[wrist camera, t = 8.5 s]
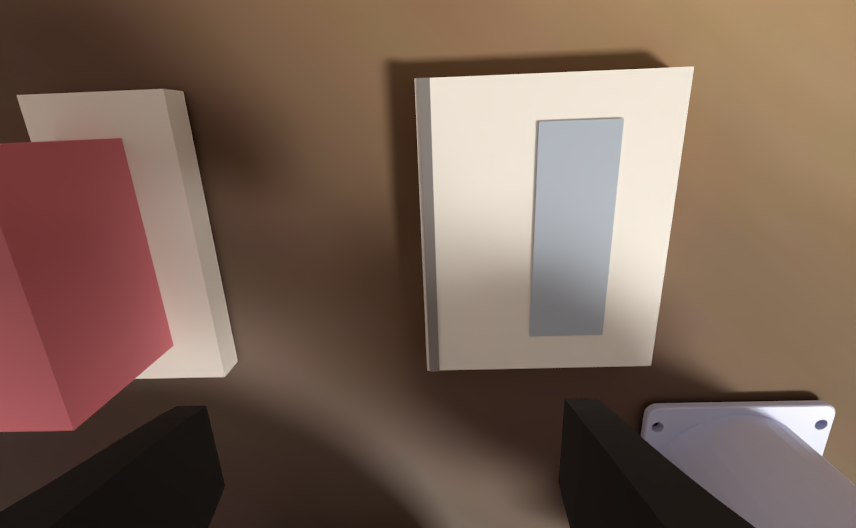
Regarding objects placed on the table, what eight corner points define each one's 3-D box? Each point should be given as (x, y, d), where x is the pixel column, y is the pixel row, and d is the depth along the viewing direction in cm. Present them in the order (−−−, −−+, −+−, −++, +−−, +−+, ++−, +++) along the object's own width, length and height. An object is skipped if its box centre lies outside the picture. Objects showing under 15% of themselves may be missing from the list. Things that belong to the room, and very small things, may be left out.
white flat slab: (637, 350, 18) (652, 367, 17) (427, 355, 19) (427, 372, 17) (674, 70, 15) (695, 66, 14) (416, 81, 15) (414, 78, 14)
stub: (237, 361, 19) (146, 470, 13) (125, 364, 19) (-15, 473, 13) (183, 91, 15) (25, 72, 9) (47, 96, 16) (-191, 82, 10)
